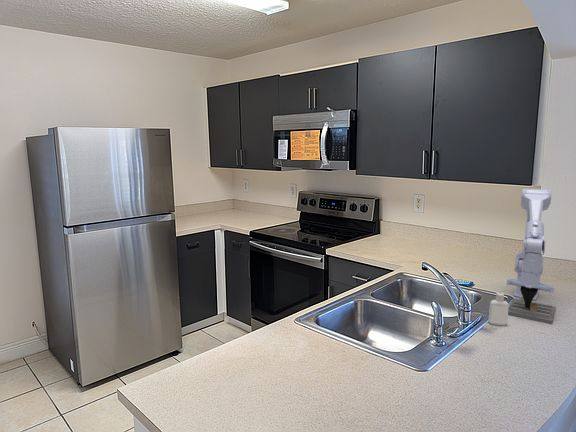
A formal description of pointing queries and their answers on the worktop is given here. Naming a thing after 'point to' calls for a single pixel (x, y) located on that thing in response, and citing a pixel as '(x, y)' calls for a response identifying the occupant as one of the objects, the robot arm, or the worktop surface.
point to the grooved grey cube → (521, 299)
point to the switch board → (542, 314)
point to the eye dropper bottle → (498, 310)
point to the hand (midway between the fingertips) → (527, 307)
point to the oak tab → (534, 307)
